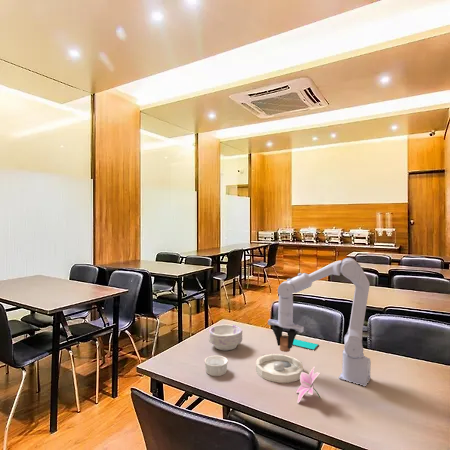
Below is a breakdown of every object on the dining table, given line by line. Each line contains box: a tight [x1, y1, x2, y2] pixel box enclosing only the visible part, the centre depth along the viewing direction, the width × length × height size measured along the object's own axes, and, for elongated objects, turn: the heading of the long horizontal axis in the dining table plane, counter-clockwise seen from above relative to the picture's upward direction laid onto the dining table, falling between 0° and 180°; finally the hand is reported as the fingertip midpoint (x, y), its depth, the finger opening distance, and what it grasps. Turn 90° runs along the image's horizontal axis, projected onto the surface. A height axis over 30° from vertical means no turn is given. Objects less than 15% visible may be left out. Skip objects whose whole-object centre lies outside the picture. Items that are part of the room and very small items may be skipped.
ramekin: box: [204, 355, 229, 377], centre depth 122 cm, size 9×9×4 cm
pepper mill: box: [279, 334, 291, 353], centre depth 126 cm, size 4×4×5 cm
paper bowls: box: [208, 324, 243, 351], centre depth 145 cm, size 15×15×8 cm
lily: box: [295, 365, 321, 404], centre depth 105 cm, size 12×12×10 cm
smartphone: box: [292, 338, 320, 351], centre depth 149 cm, size 7×1×15 cm
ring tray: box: [255, 353, 304, 384], centre depth 123 cm, size 18×18×3 cm
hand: (284, 346), depth 126 cm, fingers closed on pepper mill, 4 cm apart
